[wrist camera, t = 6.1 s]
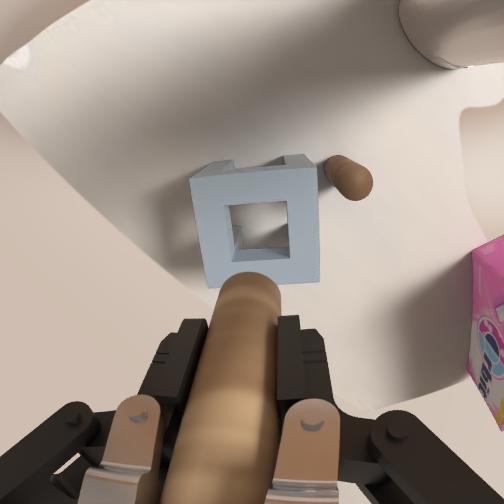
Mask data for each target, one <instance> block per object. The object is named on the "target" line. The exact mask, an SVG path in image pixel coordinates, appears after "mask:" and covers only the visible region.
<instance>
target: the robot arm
mask: <svg viewBox="0 0 504 504" xmlns="http://www.w3.org/2000/svg"><path fill="white" fill-rule="evenodd" d="M399 17H400V22H401V25H402V27H403V30H404V32H405V34H406V36H407V37H408V39H409V41H410V42H411V43H412V44H413V46H414V47H415V48H416V49H417V50H418V51H419V52H420V53H421V54H422V55H423V56H424V57H425V58H427V59H428V60H429V61H431V62H433V63H435V64H436V65H438V66H441V67H444V68H448V69H458V68H468V67H472V66H477V65H485V64H492V63H500V62H504V0H401V1H400V4H399ZM207 332H208V325H207V321H206V320H205V319H184V320H183V321H182V324H181V326H180V328H179V331H178V333H170V334H169V335H168V336H167V337H165V339H164V340H162V341H161V343H160V345H159V347H158V350H157V351H156V354H155V356H154V358H153V360H152V363H151V365H150V367H149V369H148V371H147V374H146V376H145V378H144V380H143V383H142V385H141V387H140V390H139V392H138V394H137V395H135V396H131V397H129V398H127V399H125V400H124V401H123V402H121V404H120V405H119V406H118V408H117V410H115V411H107V412H96V413H93V412H92V410H91V409H90V407H89V406H88V405H87V404H85V403H83V402H77V401H76V402H71V403H68V404H66V405H64V406H63V407H62V408H61V409H59V410H58V411H57V412H55V413H54V414H53V415H52V416H50V417H49V418H48V419H47V420H45V421H44V422H43V423H42V424H40V425H39V426H38V427H37V428H36V429H34V430H33V431H32V432H30V433H29V434H28V435H27V436H25V437H24V438H23V439H22V440H20V441H19V442H18V443H17V444H16V445H14V446H13V447H12V448H11V449H9V450H8V451H7V452H6V453H4V454H3V455H2V456H1V457H0V504H159V503H160V499H161V495H162V491H163V487H164V484H165V480H166V476H167V472H168V469H169V465H170V461H171V458H172V454H173V450H174V447H175V443H176V439H177V436H178V432H179V429H180V425H181V421H182V418H183V414H184V411H185V407H186V404H187V400H188V397H189V393H190V390H191V386H192V383H193V379H194V376H195V373H196V369H197V366H198V362H199V359H200V356H201V352H202V349H203V345H204V342H205V339H206V335H207ZM277 407H278V416H279V417H280V420H281V423H282V437H281V443H280V448H279V453H278V458H277V463H276V468H275V473H274V478H273V482H272V484H271V486H270V487H269V489H268V492H267V495H266V499H265V503H264V504H338V502H339V491H338V488H337V481H343V482H350V483H356V485H357V486H358V487H359V489H360V490H361V491H362V492H363V494H364V495H365V496H366V497H367V498H368V500H369V501H370V502H371V503H372V504H504V499H503V498H502V497H501V496H500V495H499V494H498V493H497V492H496V491H494V490H493V489H492V488H491V487H490V486H489V485H488V484H487V483H486V482H485V481H484V480H483V479H482V478H481V477H480V476H479V475H477V474H476V473H475V472H474V471H473V470H472V469H471V468H470V467H469V466H468V465H467V464H466V463H465V462H464V461H463V460H461V459H460V458H459V457H458V456H457V455H456V454H455V453H454V452H453V451H452V450H451V449H450V448H449V447H448V446H447V445H446V444H445V443H443V442H442V441H441V440H440V439H439V438H438V437H437V436H436V435H435V434H434V433H433V432H432V431H431V430H430V429H428V427H427V426H426V425H424V424H423V423H422V422H421V421H420V420H419V419H418V418H417V417H416V416H415V415H413V414H411V413H409V412H407V411H402V410H393V411H388V412H386V413H384V414H382V415H380V416H379V417H378V418H377V419H376V420H373V419H365V418H358V417H353V416H350V415H348V414H346V413H344V412H343V411H341V410H340V409H339V408H338V406H337V405H336V404H335V402H334V399H333V393H332V387H331V380H330V374H329V368H328V362H327V356H326V352H325V345H324V339H323V337H322V336H321V335H320V334H319V333H318V331H317V330H316V329H304V330H300V320H299V315H290V316H278V359H277ZM77 453H79V454H80V455H81V456H80V457H79V458H77V459H76V460H75V461H74V462H73V463H72V464H71V465H69V466H68V467H67V468H66V469H65V470H64V471H62V472H61V473H59V474H53V473H54V472H56V471H57V470H58V469H59V468H60V467H62V466H63V465H64V464H65V463H66V462H67V461H68V460H70V459H71V458H72V457H73V456H74V455H76V454H77Z"/></svg>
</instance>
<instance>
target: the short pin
mask: <svg viewBox="0 0 504 504" xmlns="http://www.w3.org/2000/svg"><path fill="white" fill-rule="evenodd" d="M324 172H325V175H326V177H327V178H328V180H329V181H330V182H331V183H332V184H333V185H334V186H335V187H336V188H337V189H338V191H339V192H340V193H341V194H342V195H343V196H344V197H345V198H347V199H349V200H352V201H358V200H362V199H364V198H365V197H367V196H368V195H369V193H370V192H371V190H372V187H373V178H372V175H371V173H370V172H369V171H368V170H367V169H366V168H365V167H363V166H361V165H360V164H358V163H356V162H354V161H352V160H350V159H348V158H346V157H344V156H341V155H335V156H332V157H330V158H329V159H328V160H327V162H326V163H325V166H324Z"/></svg>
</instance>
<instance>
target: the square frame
mask: <svg viewBox="0 0 504 504" xmlns="http://www.w3.org/2000/svg"><path fill="white" fill-rule="evenodd" d="M189 183H190V189H191V196H192V202H193V208H194V214H195V220H196V226H197V232H198V237H199V243H200V248H201V254H202V259H203V264H204V270H205V275H206V280H207V285H208V288H221V287H222V285H223V283H224V282H225V281H226V280H227V279H228V278H229V277H231V276H233V275H235V274H237V273H241V272H257V273H260V274H263V275H265V276H267V277H269V278H270V279H271V280H272V281H273V282H274V283H275V284H276V285H285V284H301V283H316V282H320V242H319V203H318V179H317V167H316V166H315V165H314V164H313V163H312V162H311V161H310V160H309V159H308V158H307V157H306V156H305V155H304V154H299V155H284V165H275V166H262V167H251V168H240V169H234V163H233V160H227V161H218V162H213V163H211V164H210V165H208V166H207V167H205V168H204V169H202V170H201V171H199V172H198V173H196V174H195V175H194V176H192V177H191V178H189ZM276 201H286V206H287V221H288V237H289V247H276V248H260V249H245V250H242V247H243V238H242V230H241V226H232V224H231V216H230V208H229V205H237V204H249V203H262V202H276Z"/></svg>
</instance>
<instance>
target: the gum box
mask: <svg viewBox="0 0 504 504" xmlns="http://www.w3.org/2000/svg"><path fill="white" fill-rule="evenodd" d="M472 264H473V305H472V328H471V344H470V351H469V363H468V370H467V371H468V372H469V374H470V376H471V377H472V379H473V381H474V382H475V384H476V386H477V388H478V389H479V391H480V393H481V394H482V396H483V398H484V400H485V402H486V403H487V405H488V407H489V409H490V411H491V412H492V414H493V416H494V418H495V420H496V422H497V424H498V426H499V428H500V430H501V431H504V235H502V236H500V237H498V238H496V239H494V240H492V241H490V242H488V243H487V244H485V245H483V246H481V247H479V248H477V249H475V250H473V251H472Z"/></svg>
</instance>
